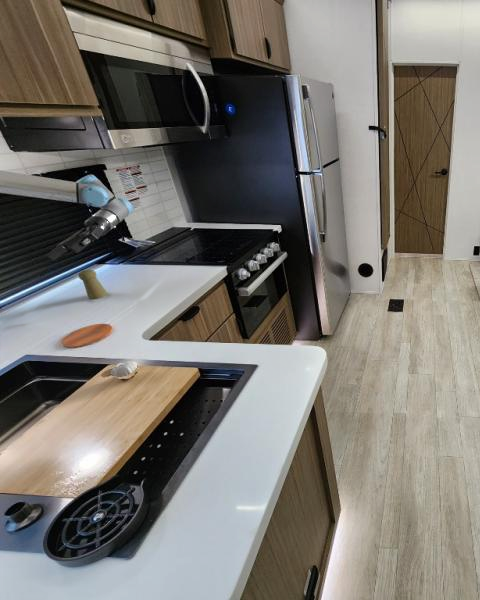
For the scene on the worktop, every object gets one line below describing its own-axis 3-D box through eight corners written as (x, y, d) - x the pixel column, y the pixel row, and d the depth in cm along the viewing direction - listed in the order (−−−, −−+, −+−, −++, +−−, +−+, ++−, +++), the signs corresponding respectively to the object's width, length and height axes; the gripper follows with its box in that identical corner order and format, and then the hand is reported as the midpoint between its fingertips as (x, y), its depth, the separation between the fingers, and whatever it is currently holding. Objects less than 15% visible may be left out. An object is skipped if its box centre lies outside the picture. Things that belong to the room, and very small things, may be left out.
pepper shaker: (102, 298, 132) (89, 273, 127) (85, 300, 131) (71, 274, 126) (110, 291, 137) (98, 267, 132) (93, 293, 136) (81, 268, 131)
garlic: (119, 387, 88) (111, 372, 86) (112, 379, 91) (104, 364, 89) (145, 374, 92) (137, 360, 90) (137, 367, 95) (130, 353, 93)
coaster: (50, 347, 104) (49, 346, 104) (85, 325, 115) (84, 323, 115) (90, 347, 104) (90, 346, 103) (122, 325, 115) (121, 323, 115)
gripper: (130, 223, 137) (93, 255, 122) (89, 237, 143) (49, 268, 129) (114, 207, 132) (74, 238, 117) (72, 222, 138) (29, 253, 124)
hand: (61, 254), depth 123 cm, fingers open, 13 cm apart
